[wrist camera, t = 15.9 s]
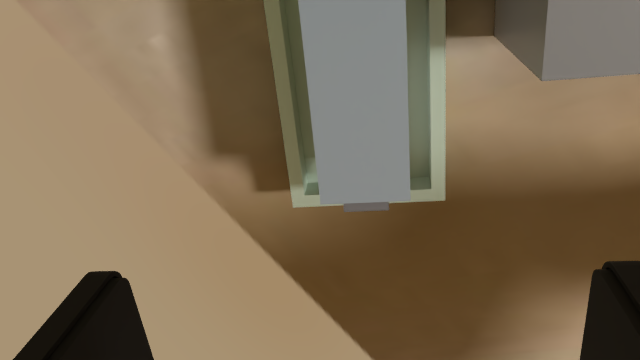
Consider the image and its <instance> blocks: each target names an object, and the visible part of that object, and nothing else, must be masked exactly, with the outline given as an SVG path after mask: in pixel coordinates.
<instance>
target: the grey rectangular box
mask: <svg viewBox="0 0 640 360" xmlns="http://www.w3.org/2000/svg"><path fill="white" fill-rule="evenodd" d="M494 36H495V37H496V38H497V39H498V40H499V41H500V42H501V43H502V44H503V45H504V46H505V47H506V48H507V49H508V50H509V51H510V52H512V53H513V54H514V55H515V56H516V57H517V58H518V59H519V60H520V61H521V62H522V63H523V64H524V65H525V66H526V67H527V68H528V69H529V70H530V71H532V72H533V73H534V74H535V75H536V76H537V77H538V78H539V79H540V80H541V81H550V80H563V79H577V78H591V77H604V76H618V75H632V74H640V0H496V3H495V27H494Z"/></svg>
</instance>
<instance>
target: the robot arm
mask: <svg viewBox="0 0 640 360" xmlns="http://www.w3.org/2000/svg"><path fill="white" fill-rule="evenodd" d="M13 360H154V359H153V356H152V352H151V349H150V346H149V343H148V340H147V337H146V334H145V330H144V327H143V324H142V321H141V318H140V315H139V312H138V308H137V305H136V302H135V299H134V296H133V293H132V290H131V286H130V283H129V281H128V280H127V279H126V278H122V276H121V274H120V273H118V272H116V271H98V272H89V273H87V274H86V275H85V276H84V277H83V279H82V280H81V281H80V282H79V283H78V284H77V286H76V287H75V288H74V289H73V290H72V291H71V293H70V294H69V295H68V296H67V297H66V299H65V300H64V301H63V302H62V303H61V304H60V306H59V307H58V308H57V309H56V310H55V311H54V312H53V314H52V315H51V316H50V317H49V318H48V319H47V321H46V322H45V323H44V324H43V325H42V326H41V328H40V329H39V330H38V331H37V332H36V334H35V335H34V336H33V337H32V338H31V339H30V341H29V342H28V343H27V344H26V345H25V347H23V349H22V350H21V351H20V352H19V353H18V354H17V356H16V357H15V358H14V359H13ZM580 360H640V261H609V262H605V263H604V265H603V267H602V269H598V270H594V272H593V275H592V281H591V287H590V294H589V301H588V308H587V315H586V322H585V328H584V335H583V342H582V349H581V356H580Z"/></svg>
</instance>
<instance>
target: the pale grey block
mask: <svg viewBox="0 0 640 360" xmlns="http://www.w3.org/2000/svg"><path fill="white" fill-rule="evenodd" d="M298 4H299V13H300V22H301V31H302V40H303V50H304V59H305V68H306V77H307V86H308V95H309V104H310V113H311V122H312V131H313V141H314V150H315V159H316V168H317V177H318V186H319V195H320V204H321V205H322V204H343V205H344V212H355V211H380V210H389V202H396V201H411V196H410V155H409V114H408V72H407V31H406V0H298Z"/></svg>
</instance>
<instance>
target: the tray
mask: <svg viewBox="0 0 640 360" xmlns="http://www.w3.org/2000/svg"><path fill="white" fill-rule="evenodd" d="M263 2H264V9H265V16H266V23H267V30H268V37H269V44H270V51H271V58H272V64H273V71H274V78H275V85H276V92H277V99H278V106H279V113H280V120H281V127H282V134H283V141H284V148H285V155H286V162H287V169H288V176H289V183H290V190H291V197H292V204H293V208H295V207H317V206H339V205H343V204H322V205H321V204H320V195H319V186H318V177H317V168H316V159H315V150H314V141H313V131H312V122H311V113H310V104H309V95H308V86H307V77H306V68H305V59H304V50H303V40H302V31H301V22H300V13H299V4H298V0H263ZM406 31H407V72H408V114H409V155H410V196H411V201H396V202H389V203H404V202H425V201H445V32H446V0H406Z"/></svg>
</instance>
